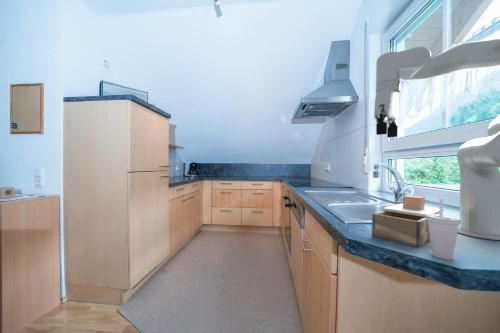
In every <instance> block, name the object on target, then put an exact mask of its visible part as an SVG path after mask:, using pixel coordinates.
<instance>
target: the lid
mask: <svg viewBox="0 0 500 333" xmlns="http://www.w3.org/2000/svg"><path fill="white" fill-rule="evenodd" d="M425 201H426V200H425V196H417V195H415V196H414V195H407V194H406V195H403V196H402V203H398V204H394V205H390V206H385V207H383V208H382V211H391V212H397V213H403V214H410V215H416V216H423V217H426V215H427V214H440V207H439V208H438V207H431V206H426V205H425V204H426V203H425ZM443 212H444V208H443Z"/></svg>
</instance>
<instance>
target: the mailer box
mask: <svg viewBox="0 0 500 333" xmlns="http://www.w3.org/2000/svg"><path fill="white" fill-rule="evenodd" d="M371 215H372V216H371V221H372V223H371V237H374V238H379V239H382V240H387V241H390V242H395V243H396V244H397V243H398V244H401V245H406V246H409V247H413V248H418V249H420V248H422V247H423V246H424V245H426V244H427V243H429V242H431V241H430V234H429V227H428V220H427V219H426V217H423V216H416V215H410V214H403V213H397V212H391V211H384V210H380V211H376V212H374V213H372V214H371Z"/></svg>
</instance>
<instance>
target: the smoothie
mask: <svg viewBox="0 0 500 333" xmlns="http://www.w3.org/2000/svg"><path fill="white" fill-rule="evenodd" d="M443 200H444V199H443V198H439V208H440V213H439V214H427V215H426V219H427V220H428V227H429V234H430V241H429V242H430V246H431V247H430V248H431V254H432V256H434V257H436V258H438V259H443V260H448V261H449V260H453V258H454V252H455V248H456V242H457V236H458V227H459V226H460V224H461V219H460V217H457V216H452V215H447V214H443V213H444V211H443V209H444V208H443V207H444V206H443V202H444V201H443Z"/></svg>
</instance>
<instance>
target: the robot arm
mask: <svg viewBox="0 0 500 333" xmlns="http://www.w3.org/2000/svg"><path fill="white" fill-rule="evenodd" d="M375 66H376V67H375V68H376V70H375V75H376V76H375V78H376V79H375V98H374V99H375V100H374V109H373V110H374V113H373V117H374V119H375V120H376V121H375V123H376V128H375V129H376V132H375V134H376V135H377V136H378V135H379V136H381V135H387V137H386V138H396V137H398V128H399V127H398V126H399V124H398V122H399V110H400V109H399V108H400V107H399V105H400V104H399V93H401V81H414V80H415V81H417V80H425V79H430V78H434V77H439V76H443V75H447V74H451V73H454V72H460V71H465V70H466V71H467V70H475V69H476V70H477V69H485V68H497V67H500V37H497V38H489V39H483V40H474V41H467V42H463V43H461V44H458V45H455V46H454V47H452V48H449V49H448V50H446V51H444V52H442V53H440V54H438V55H435V56H432V52H431V50H430V49H429V48H428V47H425V46H416V47H411V48H408V49H404V50H400V51H389V52H386V53H383V54H381V55H380V56H379V57H377V60H376V64H375ZM486 132H487V133H486V134H487V135H488V136H486V137H485V136H484V137H479V138H475V139H471V140H469V141H466V142H465V143H463V144H462V145H460V147H459V148H458V150H457V154H456V158H457V159H456V160H457V163H458V167H459V178H460V179H459V218H460V219H461V224H459V227H458V232H457V234H458V233H459V234H462V235H463V236H464V235H465V236H468V237H472V238H478V239H484V240H485V239H486V240H492V241H500V169H499V168H500V114H499V115H498V116H497V117H496V118H495V119H493V120H492V121H491V123H490V124H489V126H488V128H487V131H486Z"/></svg>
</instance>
